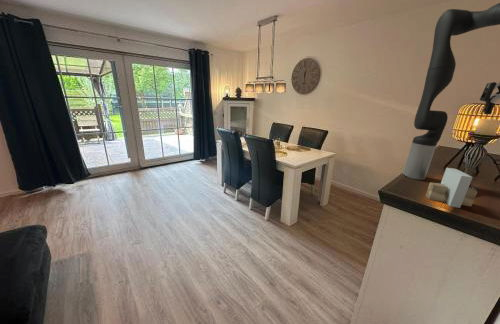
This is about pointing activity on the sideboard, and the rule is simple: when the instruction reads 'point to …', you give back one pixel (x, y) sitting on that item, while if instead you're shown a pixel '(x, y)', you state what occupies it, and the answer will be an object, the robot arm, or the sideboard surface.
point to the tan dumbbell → (440, 194)
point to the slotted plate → (456, 186)
